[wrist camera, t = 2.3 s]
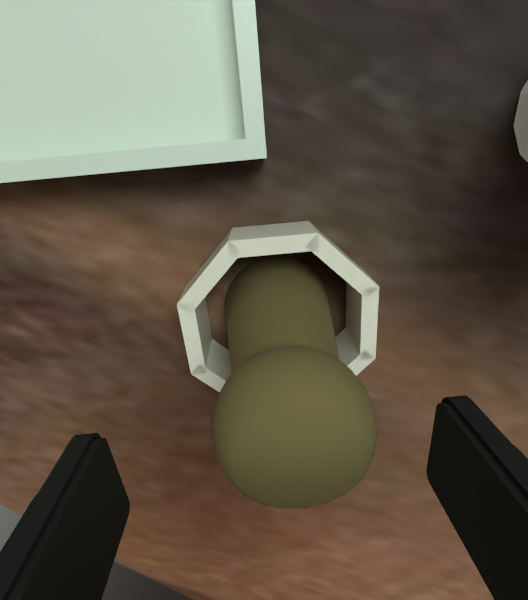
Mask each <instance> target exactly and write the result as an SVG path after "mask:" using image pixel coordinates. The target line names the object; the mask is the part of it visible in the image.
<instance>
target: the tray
mask: <svg viewBox="0 0 528 600" xmlns="http://www.w3.org/2000/svg"><path fill="white" fill-rule="evenodd" d="M263 158H267V155H266V141H265V128H264V115H263V102H262V89H261V76H260V63H259V50H258V36H257V23H256V10H255V0H0V183H6V182H17V181H27V180H38V179H49V178H60V177H70V176H81V175H92V174H102V173H113V172H124V171H135V170H145V169H156V168H167V167H177V166H188V165H199V164H209V163H220V162H231V161H242V160H252V159H263Z"/></svg>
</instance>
